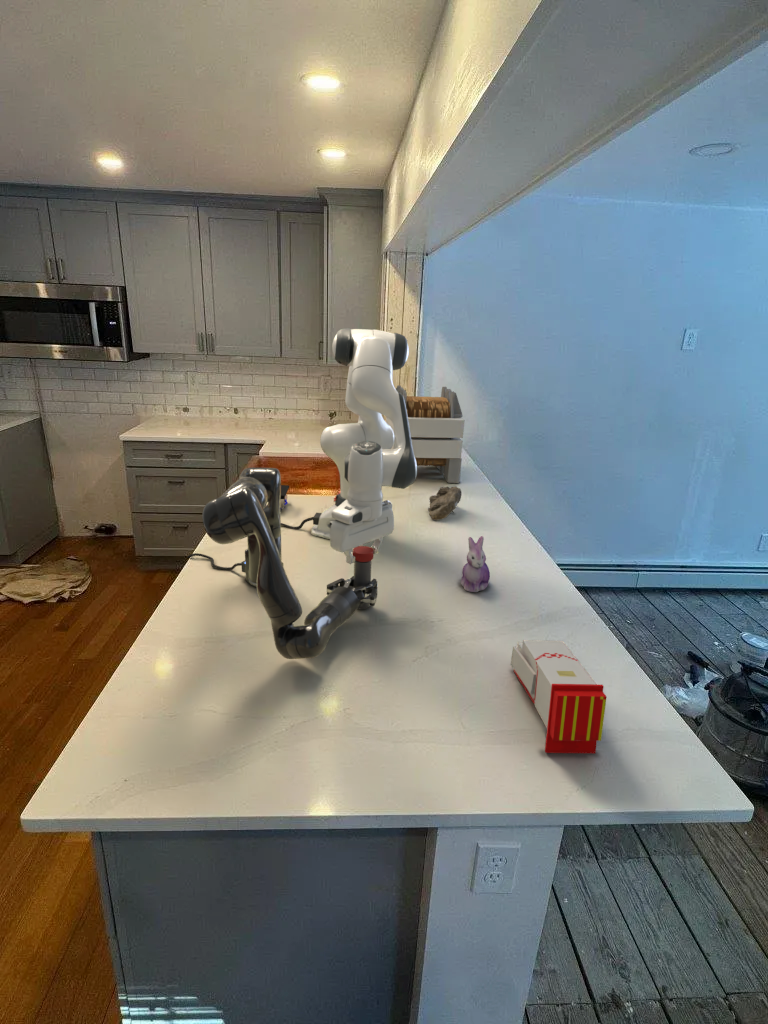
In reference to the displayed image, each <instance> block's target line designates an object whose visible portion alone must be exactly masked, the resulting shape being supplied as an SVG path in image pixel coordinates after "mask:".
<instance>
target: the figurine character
mask: <svg viewBox="0 0 768 1024" xmlns="http://www.w3.org/2000/svg"><path fill="white" fill-rule="evenodd" d="M289 489H290V485H287V484H286V485H285V484H281V497H280V513H281V512H282V510H283V509H285V508H286V507H285V506H287V505H288V503H289V502H288V495H287V493H288V491H289ZM268 504H269V503H268V502H267V505H268Z"/></svg>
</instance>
